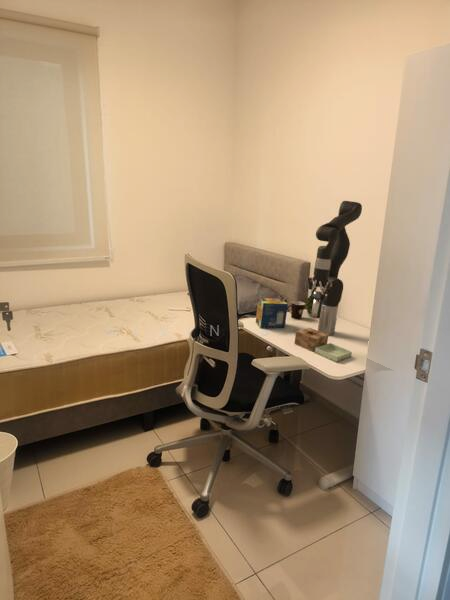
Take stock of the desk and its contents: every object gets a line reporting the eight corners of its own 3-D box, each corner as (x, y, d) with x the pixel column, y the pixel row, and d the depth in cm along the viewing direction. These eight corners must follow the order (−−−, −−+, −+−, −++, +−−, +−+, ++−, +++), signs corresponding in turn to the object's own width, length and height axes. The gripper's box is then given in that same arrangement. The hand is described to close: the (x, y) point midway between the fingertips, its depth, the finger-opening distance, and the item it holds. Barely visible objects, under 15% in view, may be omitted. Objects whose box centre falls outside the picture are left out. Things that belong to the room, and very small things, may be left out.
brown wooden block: (308, 339, 214) (310, 327, 212) (326, 347, 206) (328, 334, 204) (294, 343, 206) (296, 331, 205) (312, 351, 198) (314, 339, 196)
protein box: (255, 322, 236) (257, 297, 231) (279, 322, 239) (282, 298, 235) (260, 328, 226) (262, 302, 222) (285, 328, 229) (288, 303, 225)
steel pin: (306, 315, 201) (311, 291, 198) (313, 314, 204) (317, 290, 202) (314, 318, 198) (319, 293, 195) (320, 317, 201) (325, 293, 198)
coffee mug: (301, 316, 256) (303, 301, 253) (304, 320, 247) (306, 305, 245) (283, 314, 255) (285, 300, 252) (286, 319, 247) (288, 304, 244)
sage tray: (329, 347, 205) (330, 343, 204) (351, 356, 196) (352, 351, 195) (314, 353, 197) (315, 347, 196) (336, 362, 187) (337, 357, 186)
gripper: (306, 265, 197) (301, 297, 202) (330, 270, 187) (324, 304, 192) (315, 264, 202) (310, 295, 207) (338, 269, 192) (333, 302, 197)
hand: (317, 299), depth 199 cm, fingers closed on steel pin, 5 cm apart
